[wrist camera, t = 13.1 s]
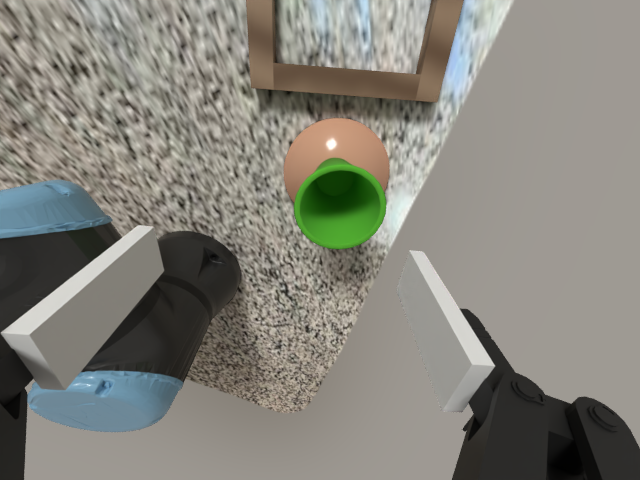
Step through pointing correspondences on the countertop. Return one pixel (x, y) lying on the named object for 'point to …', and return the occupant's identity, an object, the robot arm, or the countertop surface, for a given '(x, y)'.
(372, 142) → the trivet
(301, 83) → the frame
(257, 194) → the countertop surface
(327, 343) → the countertop surface
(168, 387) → the robot arm
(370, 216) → the cup
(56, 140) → the countertop surface
